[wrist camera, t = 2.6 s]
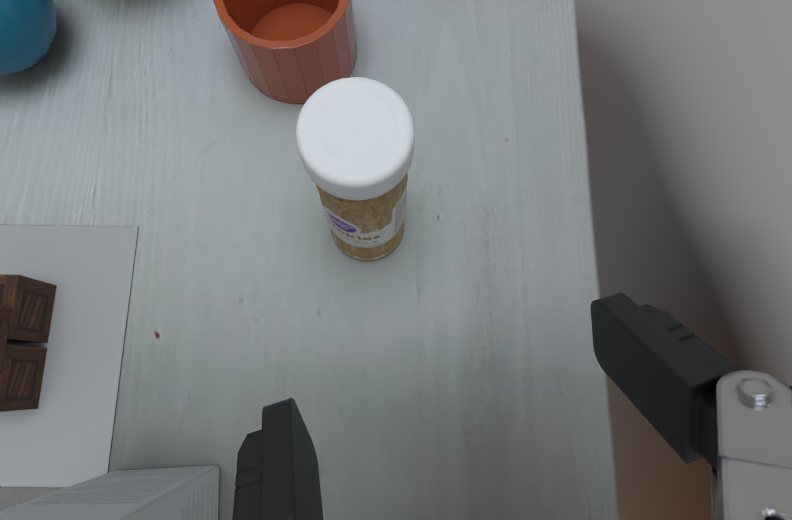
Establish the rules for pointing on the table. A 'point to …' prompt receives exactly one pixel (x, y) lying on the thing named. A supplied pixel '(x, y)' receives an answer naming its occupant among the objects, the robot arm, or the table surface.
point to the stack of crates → (60, 349)
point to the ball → (25, 33)
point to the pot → (291, 43)
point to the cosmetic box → (130, 497)
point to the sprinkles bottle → (359, 162)
